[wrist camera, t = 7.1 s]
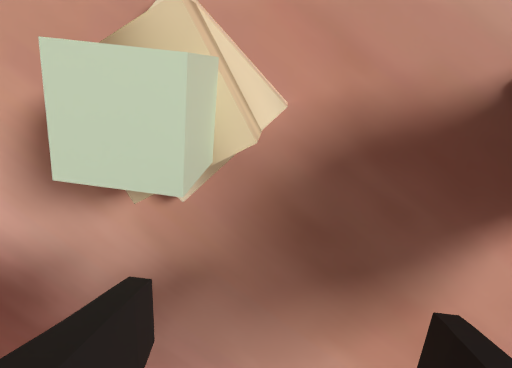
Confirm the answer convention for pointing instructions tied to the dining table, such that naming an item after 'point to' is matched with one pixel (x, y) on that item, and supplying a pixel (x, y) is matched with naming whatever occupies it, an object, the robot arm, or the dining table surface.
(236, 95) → the beech slab top
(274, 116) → the beech slab bottom
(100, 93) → the sage cube
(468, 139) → the dining table surface
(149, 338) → the robot arm
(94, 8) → the dining table surface
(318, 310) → the dining table surface
